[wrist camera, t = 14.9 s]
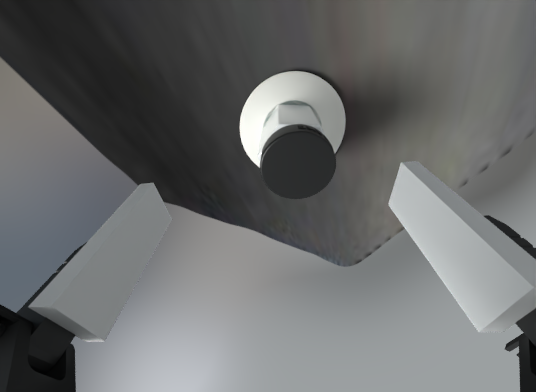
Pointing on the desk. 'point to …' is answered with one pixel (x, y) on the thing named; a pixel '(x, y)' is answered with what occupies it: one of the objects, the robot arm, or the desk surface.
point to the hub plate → (291, 93)
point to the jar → (295, 153)
